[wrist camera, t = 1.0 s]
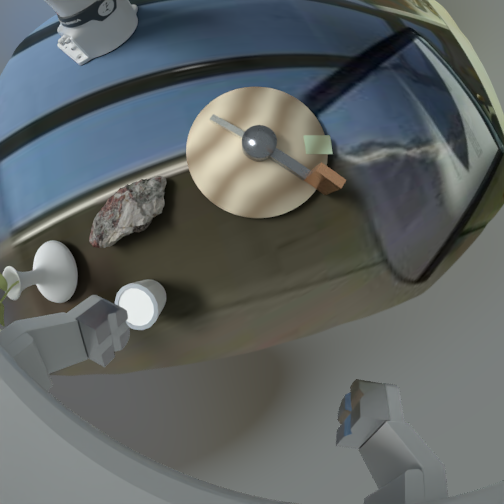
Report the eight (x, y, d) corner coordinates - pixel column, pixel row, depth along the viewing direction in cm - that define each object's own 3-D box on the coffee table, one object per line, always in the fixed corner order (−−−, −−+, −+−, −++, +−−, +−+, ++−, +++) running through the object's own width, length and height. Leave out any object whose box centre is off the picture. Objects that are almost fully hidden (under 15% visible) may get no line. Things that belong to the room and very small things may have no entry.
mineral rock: (163, 171, 40) (154, 165, 36) (179, 216, 41) (172, 215, 37) (90, 208, 40) (76, 207, 36) (103, 251, 41) (91, 253, 37)
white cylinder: (178, 302, 42) (167, 316, 35) (147, 323, 42) (132, 338, 35) (154, 267, 41) (139, 274, 34) (124, 289, 41) (106, 299, 34)
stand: (161, 171, 40) (159, 169, 39) (238, 71, 39) (238, 67, 38) (278, 245, 42) (280, 246, 40) (346, 137, 41) (350, 134, 39)
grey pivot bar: (202, 131, 38) (196, 113, 31) (221, 107, 38) (218, 86, 31) (319, 204, 40) (334, 199, 33) (334, 178, 40) (352, 169, 33)
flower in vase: (48, 229, 40) (-54, 234, 15) (89, 257, 41) (-19, 281, 16) (33, 289, 41) (-57, 320, 16) (72, 318, 41) (-18, 371, 16)
